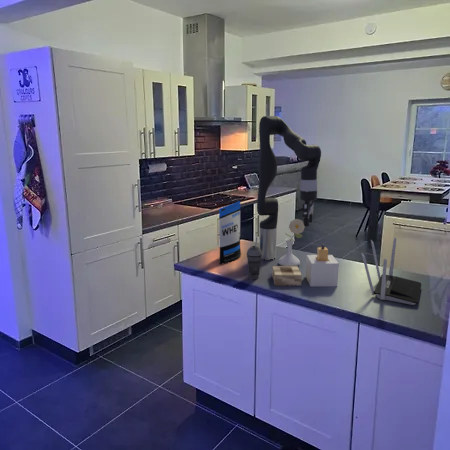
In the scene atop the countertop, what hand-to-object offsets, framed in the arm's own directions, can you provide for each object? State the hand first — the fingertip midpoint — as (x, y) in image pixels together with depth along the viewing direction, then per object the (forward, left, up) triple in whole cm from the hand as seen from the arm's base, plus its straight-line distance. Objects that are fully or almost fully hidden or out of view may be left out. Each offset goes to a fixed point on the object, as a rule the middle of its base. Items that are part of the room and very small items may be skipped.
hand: (308, 224), depth 182 cm
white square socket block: (+5, +6, -26) cm, 27 cm away
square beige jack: (+4, -10, -26) cm, 28 cm away
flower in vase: (-17, -5, -26) cm, 32 cm away
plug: (+5, +6, -18) cm, 20 cm away
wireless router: (+17, +34, -27) cm, 46 cm away
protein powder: (-29, -36, -27) cm, 53 cm away
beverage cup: (0, -25, -26) cm, 36 cm away
